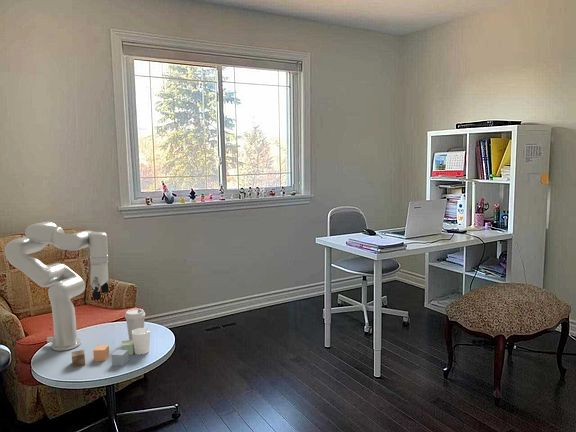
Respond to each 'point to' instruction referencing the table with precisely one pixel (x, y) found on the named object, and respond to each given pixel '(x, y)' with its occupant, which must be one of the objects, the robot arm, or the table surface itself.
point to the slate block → (120, 357)
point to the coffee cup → (134, 320)
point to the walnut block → (78, 358)
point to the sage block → (128, 346)
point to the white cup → (141, 340)
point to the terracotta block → (101, 352)
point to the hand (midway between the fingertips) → (101, 296)
